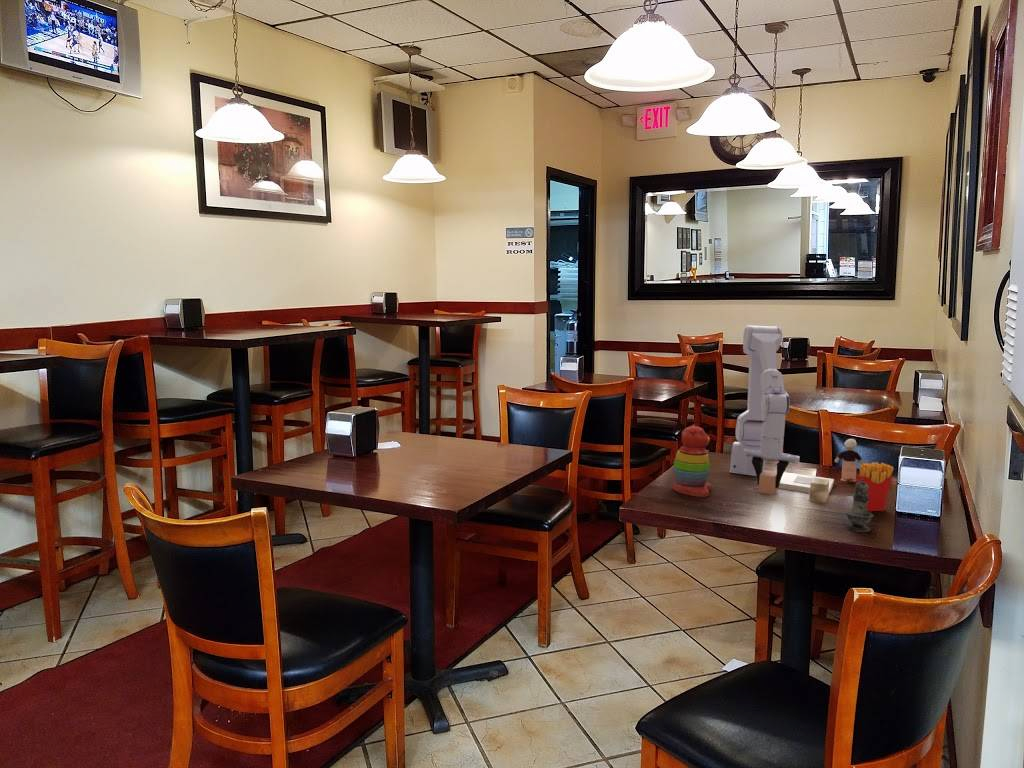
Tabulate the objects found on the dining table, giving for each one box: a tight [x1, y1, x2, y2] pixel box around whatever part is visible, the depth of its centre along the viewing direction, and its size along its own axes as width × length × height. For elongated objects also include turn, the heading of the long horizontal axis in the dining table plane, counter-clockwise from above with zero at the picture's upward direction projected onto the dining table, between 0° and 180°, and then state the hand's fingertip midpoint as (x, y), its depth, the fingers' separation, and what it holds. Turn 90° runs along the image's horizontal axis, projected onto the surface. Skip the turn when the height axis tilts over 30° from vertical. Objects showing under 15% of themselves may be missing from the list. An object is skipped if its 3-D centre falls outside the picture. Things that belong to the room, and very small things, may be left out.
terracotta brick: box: [757, 469, 778, 496], centre depth 210 cm, size 4×6×5 cm, turn 152°
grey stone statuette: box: [845, 479, 874, 533], centre depth 181 cm, size 6×6×12 cm
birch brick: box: [808, 478, 829, 504], centre depth 205 cm, size 4×6×5 cm, turn 152°
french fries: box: [856, 461, 894, 512], centre depth 196 cm, size 8×4×12 cm, turn 94°
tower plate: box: [777, 471, 835, 497], centre depth 218 cm, size 14×14×2 cm
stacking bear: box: [672, 424, 713, 498], centre depth 207 cm, size 11×10×18 cm
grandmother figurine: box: [834, 438, 864, 482], centre depth 224 cm, size 8×4×13 cm, turn 84°
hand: (768, 485), depth 211 cm, fingers closed on terracotta brick, 4 cm apart
